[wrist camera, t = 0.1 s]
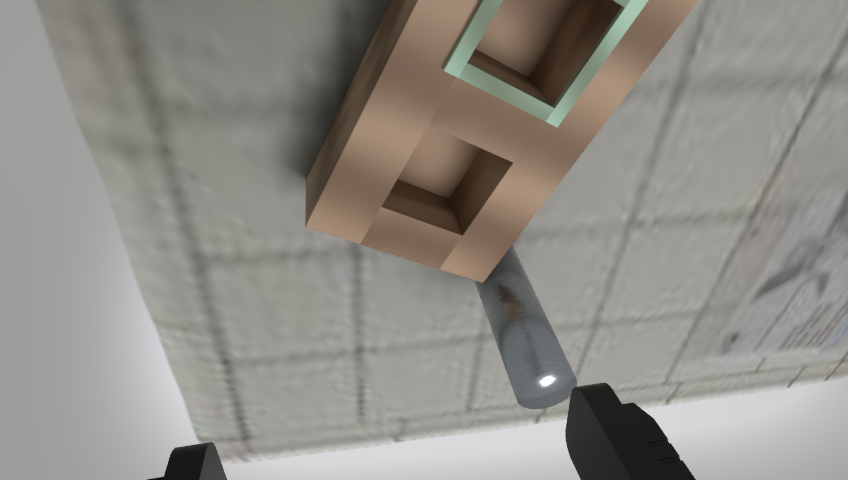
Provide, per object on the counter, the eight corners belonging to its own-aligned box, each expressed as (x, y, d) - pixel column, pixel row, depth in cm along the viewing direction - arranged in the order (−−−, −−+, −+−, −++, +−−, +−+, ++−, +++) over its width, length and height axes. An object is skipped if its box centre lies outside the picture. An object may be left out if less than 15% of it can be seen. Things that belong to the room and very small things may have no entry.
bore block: (473, -177, 23) (508, -177, 19) (657, -39, 28) (715, -16, 24) (306, 179, 33) (305, 230, 29) (465, 236, 38) (483, 286, 34)
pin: (484, 232, 38) (540, 364, 29) (523, 247, 40) (589, 376, 30) (459, 268, 40) (504, 403, 30) (497, 280, 41) (551, 413, 32)
